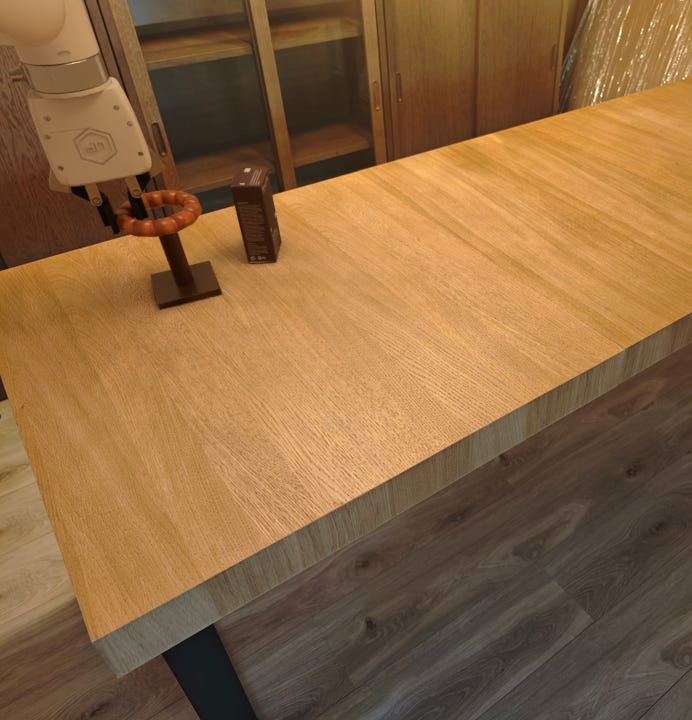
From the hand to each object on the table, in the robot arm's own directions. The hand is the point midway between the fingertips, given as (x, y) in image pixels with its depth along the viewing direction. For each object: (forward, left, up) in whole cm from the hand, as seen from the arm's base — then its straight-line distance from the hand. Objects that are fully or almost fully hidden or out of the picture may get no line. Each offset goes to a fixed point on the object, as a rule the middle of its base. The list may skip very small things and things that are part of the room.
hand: (128, 225), depth 81 cm
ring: (+4, 0, +1) cm, 4 cm away
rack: (+4, 0, -11) cm, 11 cm away
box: (+16, +4, -11) cm, 20 cm away
